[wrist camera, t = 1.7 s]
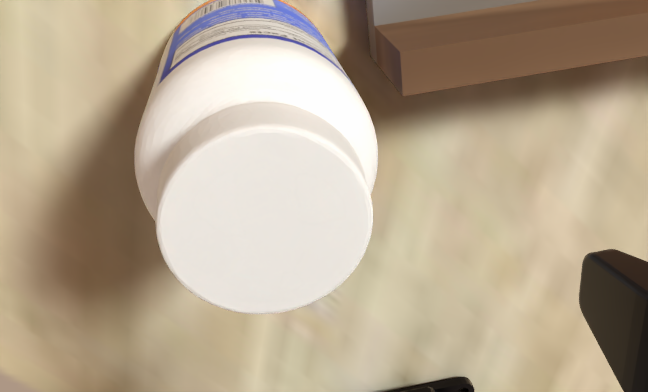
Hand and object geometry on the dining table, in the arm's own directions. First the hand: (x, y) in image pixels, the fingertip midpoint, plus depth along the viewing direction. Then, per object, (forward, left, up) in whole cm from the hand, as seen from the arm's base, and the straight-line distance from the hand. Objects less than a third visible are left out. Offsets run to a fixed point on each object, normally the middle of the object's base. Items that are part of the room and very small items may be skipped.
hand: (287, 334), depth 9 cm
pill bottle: (0, 0, -13) cm, 13 cm away
